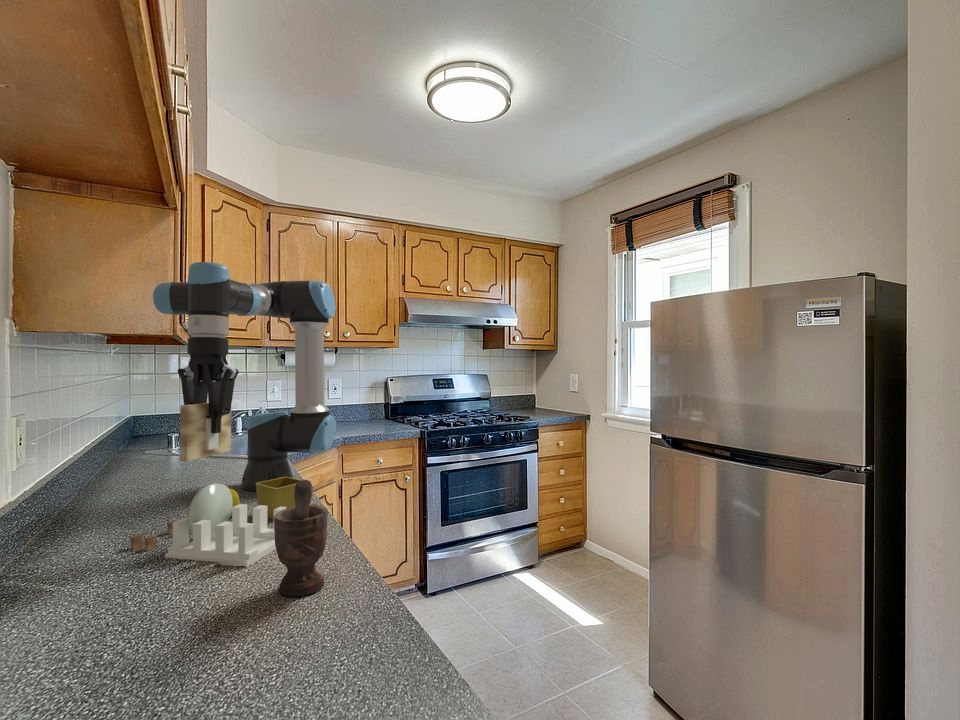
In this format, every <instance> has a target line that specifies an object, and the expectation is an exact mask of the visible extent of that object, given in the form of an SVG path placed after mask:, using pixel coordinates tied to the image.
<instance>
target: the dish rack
mask: <svg viewBox="0 0 960 720" xmlns="http://www.w3.org/2000/svg"><path fill="white" fill-rule="evenodd" d="M284 509H286V507H281V506H280V507H278V508H276V509H274V516H275V515H276V513H278V512H279V511H281V510H284ZM177 520H178V519H177ZM272 526H273V528H269V527H268V518H267V506H265V505H258V506H255V507H254V508H252V522H251V523H250V522H248V504H244V503H240V504H239V505H236V506H234V507H232V517H231V521H228V522H227V521H225V522H222V523H220V524H218V525H216V536H215V537H213V538H211V520H201V521H199V522H197V523H194V524H193V534H192V540H191V541H190V538H189V537H190V533H189V524H188V518H180V519H179V520H178V521H175V522H173V535H172V545H171V546H169V547H168V549H167V550H168V551H167V552H166V553H164V558H167V559H179V560H191V561H204V562H215V563H216V564H221V565H220V566H225V565H233V566H232V567H236V566H245V567H244V568H249V567H250V566H251V565H250V564H252V565H253V564H255V563H256V562H258V561H260V560H261V559H263V558H264V557H266V556H268V555H269V554H271V553H272V552H274V551H275V550H276V547H275V529H274V524H273V525H272ZM273 550H274V551H273ZM270 552H271V553H270ZM262 557H263V558H262ZM259 559H260V560H259ZM254 562H255V563H254ZM249 565H250V566H249Z"/></svg>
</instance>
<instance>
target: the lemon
mask: <svg viewBox="0 0 960 720" xmlns="http://www.w3.org/2000/svg"><path fill="white" fill-rule="evenodd" d="M228 489H229V490H230V492H231V495H232V500H233V506H232V507H234V506H236V505H239V504H241V502H240V496H239V493H238V492H237V491H236V490H235V489H233V488H230V487H228ZM230 518H232V512H231V516H230Z"/></svg>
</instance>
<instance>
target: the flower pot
mask: <svg viewBox="0 0 960 720" xmlns="http://www.w3.org/2000/svg"><path fill="white" fill-rule="evenodd" d="M301 480H302V479H299V478H295V477H293V478H290V477H281V478H277V479H272V480H268V481H263V482H258V483H256V491H255V492H256V498H257V504H258V506H259V505H265V506H267V519H271V520H274V509H276V508H278V507H280V506H281V507H286V508H289V507H294V506H296V505H295V500H294V490H295V486H296V484H297V483H298V482H299V481H301Z"/></svg>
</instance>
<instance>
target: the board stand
mask: <svg viewBox="0 0 960 720" xmlns="http://www.w3.org/2000/svg"><path fill="white" fill-rule="evenodd" d="M175 521H178V519H174V520H171V521H168V522H167V524H166V525H167V526H166V527H167V529H166V534H167V535H171V536H173V522H175ZM190 533H192V532H191V531H190V528H189V534H190ZM157 537H158V536H157V534H152V535H150V536H147V537H144V534H143V533H138V534H136V535H133V536H130V551H131V550H132V551H141V552H149V551H152V550H154V549H156V548H157V545H158V544H157V540H158V539H157Z"/></svg>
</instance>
